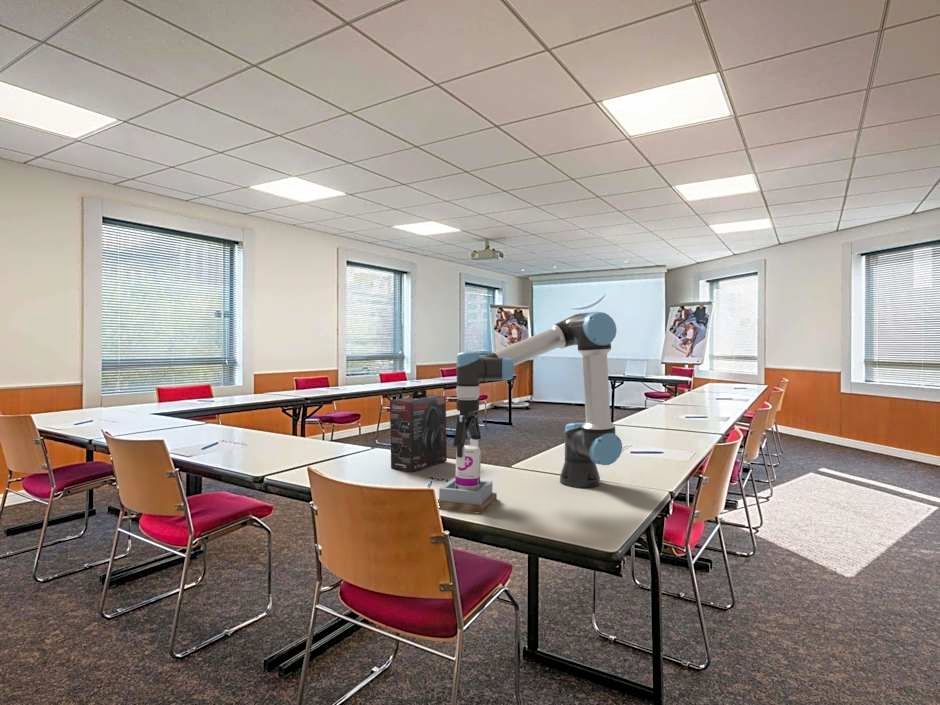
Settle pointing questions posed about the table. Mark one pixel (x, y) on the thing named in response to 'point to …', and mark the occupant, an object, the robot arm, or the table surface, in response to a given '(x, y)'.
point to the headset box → (418, 431)
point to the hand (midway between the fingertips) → (467, 462)
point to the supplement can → (469, 470)
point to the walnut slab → (469, 505)
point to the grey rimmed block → (465, 493)
